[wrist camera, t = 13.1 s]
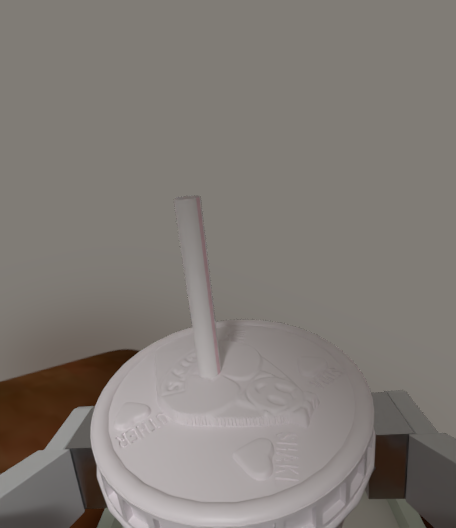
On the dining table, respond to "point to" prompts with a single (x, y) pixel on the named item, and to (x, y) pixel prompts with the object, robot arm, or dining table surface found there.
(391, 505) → the caster cart
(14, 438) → the dining table surface
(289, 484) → the smoothie
